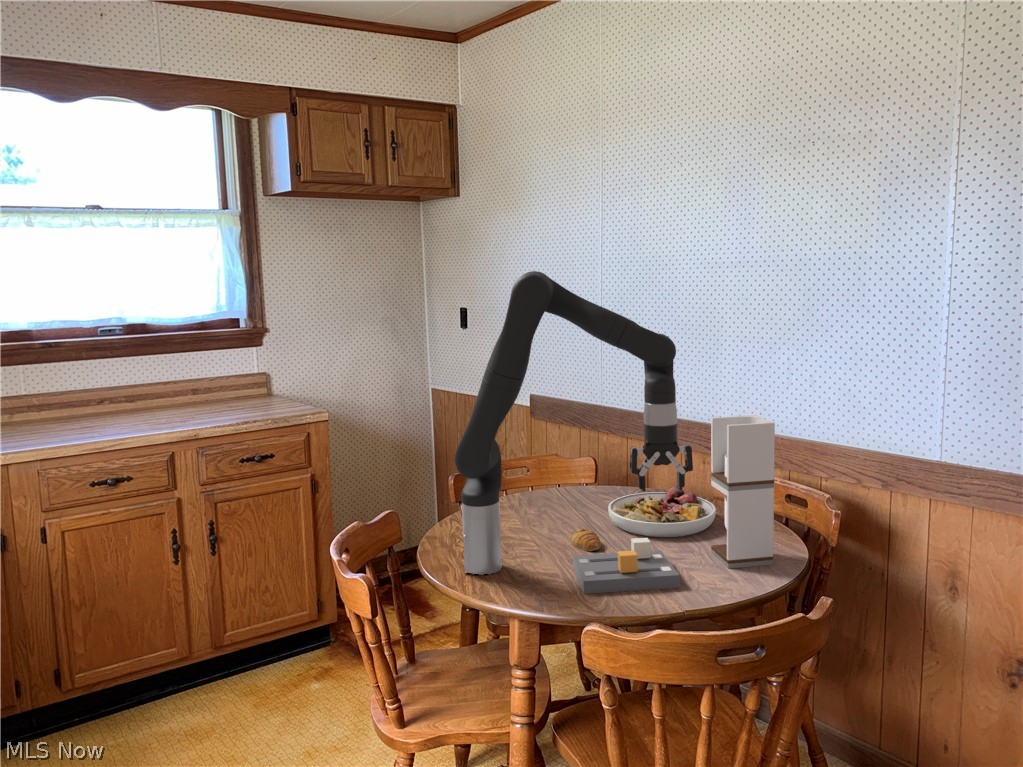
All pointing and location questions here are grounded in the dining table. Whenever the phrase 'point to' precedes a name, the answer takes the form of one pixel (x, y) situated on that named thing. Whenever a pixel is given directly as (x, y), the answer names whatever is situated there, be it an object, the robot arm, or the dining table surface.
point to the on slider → (641, 547)
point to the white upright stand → (744, 488)
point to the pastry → (586, 540)
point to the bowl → (662, 513)
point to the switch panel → (606, 577)
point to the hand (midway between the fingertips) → (661, 489)
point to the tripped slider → (627, 561)
